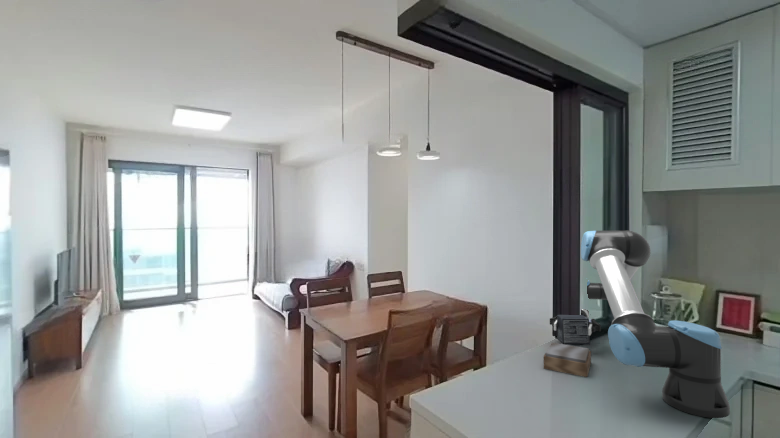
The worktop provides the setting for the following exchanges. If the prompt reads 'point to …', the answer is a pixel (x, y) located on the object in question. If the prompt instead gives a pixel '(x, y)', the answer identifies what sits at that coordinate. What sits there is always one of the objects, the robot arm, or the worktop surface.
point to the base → (568, 359)
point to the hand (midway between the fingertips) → (571, 329)
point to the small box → (573, 329)
